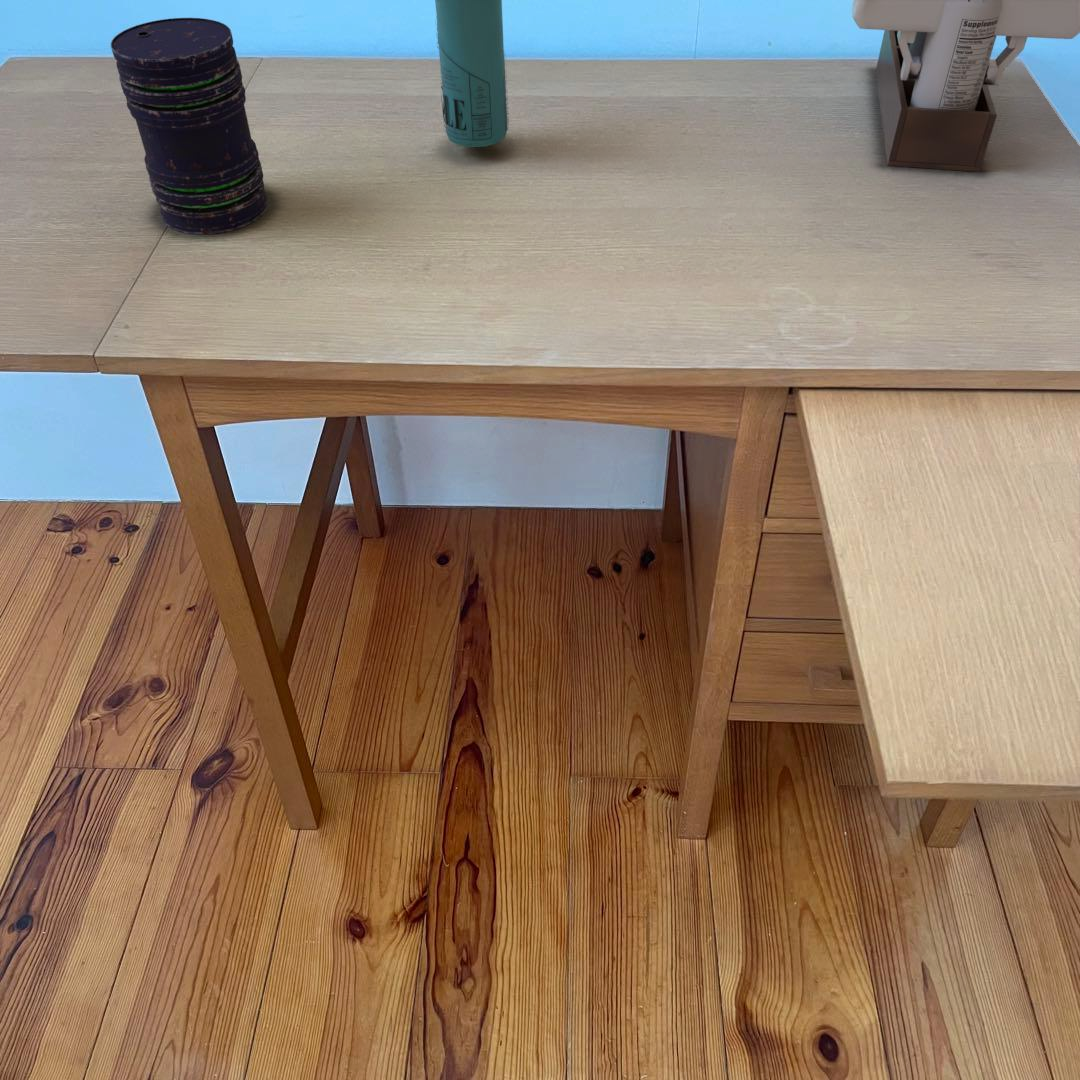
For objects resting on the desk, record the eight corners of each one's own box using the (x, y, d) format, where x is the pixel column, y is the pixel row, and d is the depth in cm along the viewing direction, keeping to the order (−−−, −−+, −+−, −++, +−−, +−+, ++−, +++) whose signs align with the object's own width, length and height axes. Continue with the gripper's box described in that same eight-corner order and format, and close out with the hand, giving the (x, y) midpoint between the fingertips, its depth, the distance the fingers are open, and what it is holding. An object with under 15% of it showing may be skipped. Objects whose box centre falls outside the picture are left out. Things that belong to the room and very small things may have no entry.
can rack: (953, 75, 114) (967, 23, 110) (979, 172, 97) (997, 114, 93) (875, 70, 115) (886, 19, 111) (887, 165, 98) (901, 108, 94)
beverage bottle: (520, 141, 103) (514, -83, 88) (491, 168, 98) (480, -63, 84) (464, 130, 105) (449, -90, 90) (432, 156, 100) (412, -71, 86)
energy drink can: (939, 126, 102) (984, -38, 92) (976, 150, 98) (1027, -18, 88) (888, 135, 101) (928, -30, 90) (924, 160, 97) (969, -10, 86)
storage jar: (289, 194, 95) (256, 25, 84) (230, 243, 89) (185, 67, 78) (201, 177, 98) (158, 11, 87) (137, 223, 91) (82, 50, 81)
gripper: (1114, -92, 86) (1058, 74, 96) (870, -100, 89) (839, 62, 99) (1131, -72, 82) (1070, 100, 92) (873, -81, 85) (841, 87, 95)
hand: (948, 80), depth 95 cm, fingers closed on energy drink can, 6 cm apart
